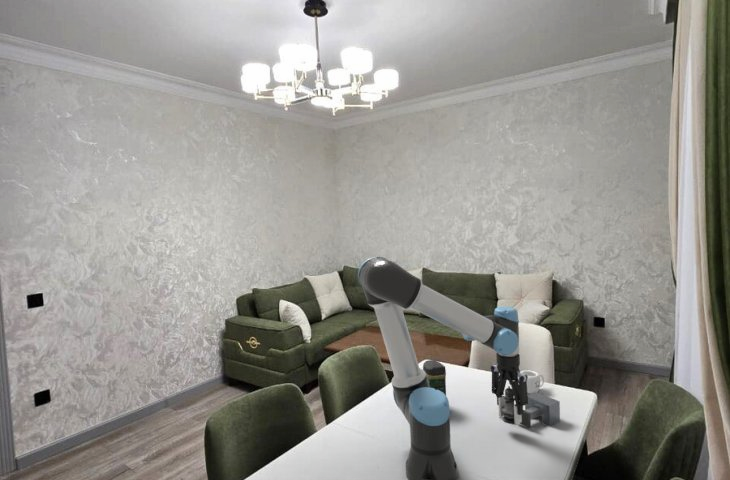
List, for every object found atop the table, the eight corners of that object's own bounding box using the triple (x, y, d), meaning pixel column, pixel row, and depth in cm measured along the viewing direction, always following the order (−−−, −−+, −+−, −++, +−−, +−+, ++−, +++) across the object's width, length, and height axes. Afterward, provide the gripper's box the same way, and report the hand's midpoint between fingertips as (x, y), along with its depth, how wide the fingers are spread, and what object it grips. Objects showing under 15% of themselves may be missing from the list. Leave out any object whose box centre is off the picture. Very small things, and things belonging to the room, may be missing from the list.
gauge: (533, 434, 138) (533, 413, 138) (499, 417, 151) (498, 398, 150) (559, 421, 146) (559, 401, 146) (525, 406, 158) (524, 387, 158)
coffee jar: (450, 412, 156) (448, 365, 155) (431, 415, 154) (429, 367, 153) (439, 401, 166) (438, 357, 165) (421, 404, 164) (420, 359, 163)
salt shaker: (499, 422, 138) (498, 388, 137) (502, 414, 143) (501, 381, 143) (518, 425, 135) (516, 390, 135) (520, 417, 140) (519, 383, 140)
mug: (529, 397, 166) (528, 378, 166) (514, 389, 174) (514, 371, 174) (551, 391, 171) (551, 373, 170) (536, 384, 179) (536, 366, 178)
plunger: (528, 427, 141) (528, 413, 140) (504, 416, 150) (503, 402, 149) (545, 420, 145) (544, 406, 145) (520, 409, 154) (519, 396, 154)
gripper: (539, 357, 132) (541, 426, 133) (493, 344, 148) (495, 405, 149) (524, 363, 128) (526, 434, 129) (478, 348, 144) (481, 411, 145)
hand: (510, 418), depth 139 cm, fingers closed on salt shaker, 6 cm apart
